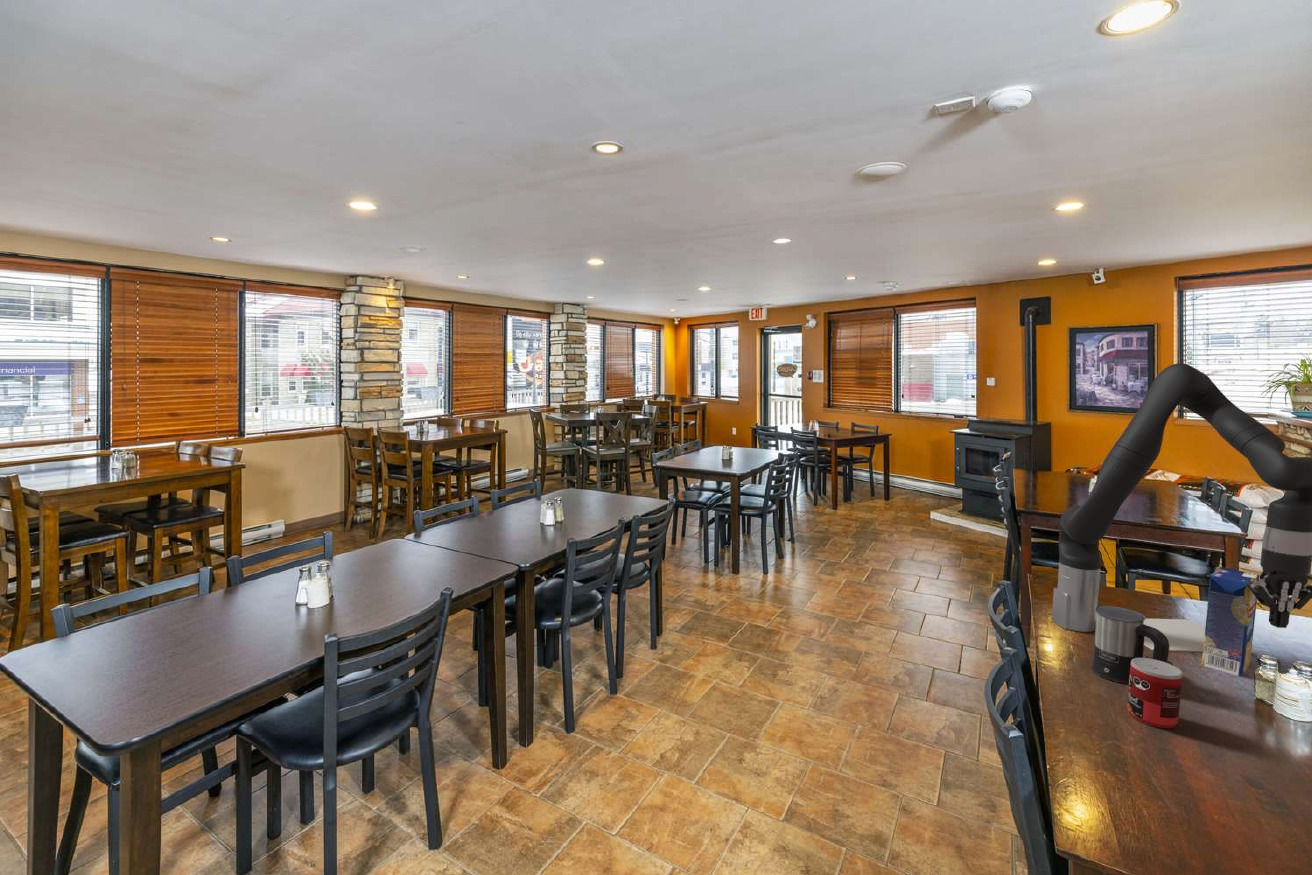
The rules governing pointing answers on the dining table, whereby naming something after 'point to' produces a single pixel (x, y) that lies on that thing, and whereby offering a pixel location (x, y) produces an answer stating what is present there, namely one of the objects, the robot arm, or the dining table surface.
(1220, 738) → the dining table surface
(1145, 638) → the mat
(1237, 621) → the beverage box
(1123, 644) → the milk frother
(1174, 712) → the canned food
